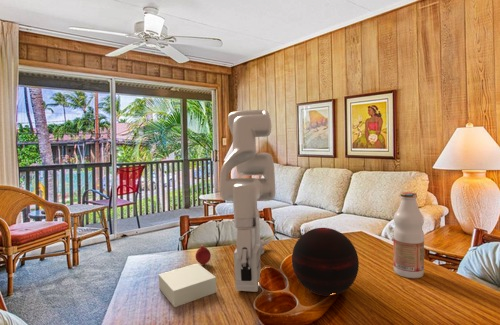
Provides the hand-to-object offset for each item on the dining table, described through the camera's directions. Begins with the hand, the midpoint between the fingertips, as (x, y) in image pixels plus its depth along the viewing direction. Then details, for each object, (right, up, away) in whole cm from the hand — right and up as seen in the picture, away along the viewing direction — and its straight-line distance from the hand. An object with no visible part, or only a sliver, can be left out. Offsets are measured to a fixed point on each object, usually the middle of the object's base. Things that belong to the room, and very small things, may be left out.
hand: (248, 273), depth 99 cm
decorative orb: (+24, -4, -3) cm, 25 cm away
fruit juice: (+56, -2, +7) cm, 56 cm away
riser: (-20, -6, +1) cm, 21 cm away
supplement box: (0, -4, 0) cm, 4 cm away
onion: (-17, -4, +20) cm, 27 cm away
